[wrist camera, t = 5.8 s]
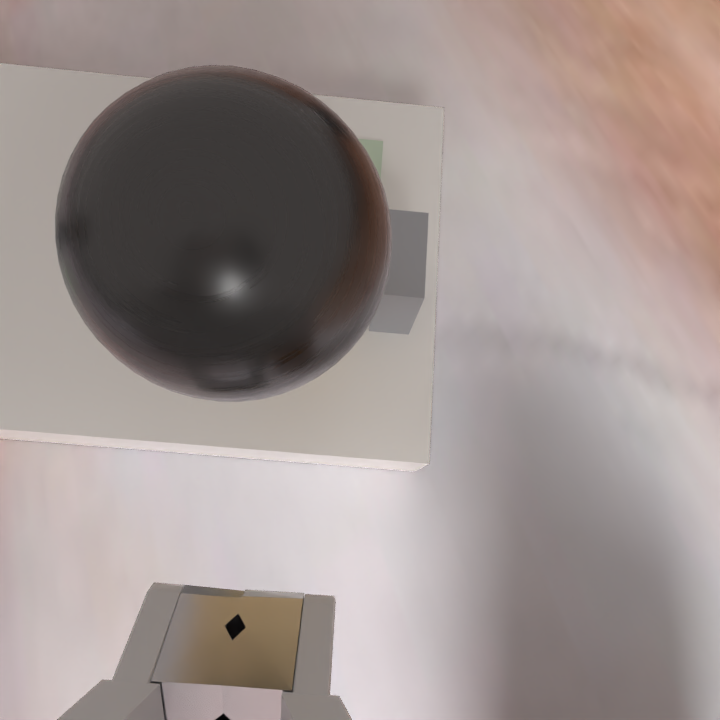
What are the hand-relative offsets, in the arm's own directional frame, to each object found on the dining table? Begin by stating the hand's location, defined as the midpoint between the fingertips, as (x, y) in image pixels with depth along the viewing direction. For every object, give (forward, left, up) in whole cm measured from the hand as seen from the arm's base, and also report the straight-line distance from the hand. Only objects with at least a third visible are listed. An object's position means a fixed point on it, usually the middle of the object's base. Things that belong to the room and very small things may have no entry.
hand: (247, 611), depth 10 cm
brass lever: (+8, 0, -6) cm, 10 cm away
